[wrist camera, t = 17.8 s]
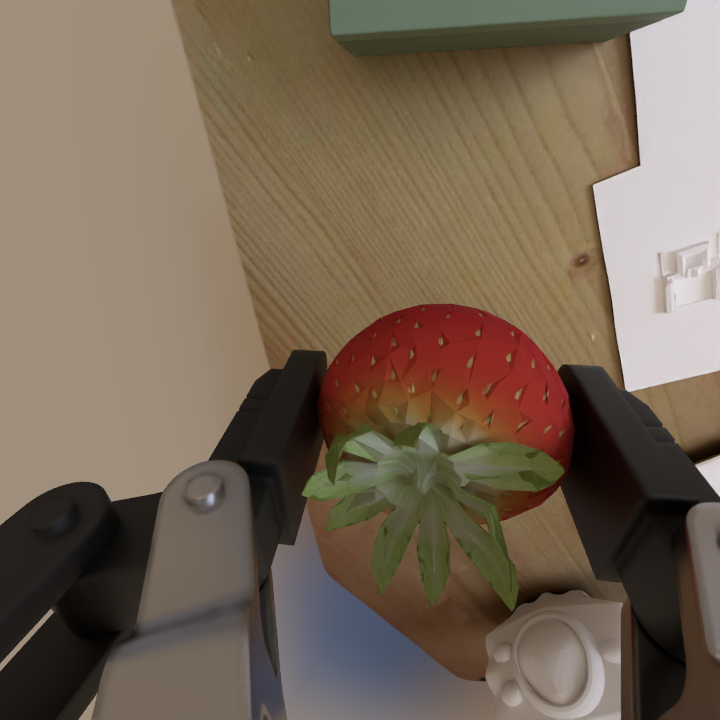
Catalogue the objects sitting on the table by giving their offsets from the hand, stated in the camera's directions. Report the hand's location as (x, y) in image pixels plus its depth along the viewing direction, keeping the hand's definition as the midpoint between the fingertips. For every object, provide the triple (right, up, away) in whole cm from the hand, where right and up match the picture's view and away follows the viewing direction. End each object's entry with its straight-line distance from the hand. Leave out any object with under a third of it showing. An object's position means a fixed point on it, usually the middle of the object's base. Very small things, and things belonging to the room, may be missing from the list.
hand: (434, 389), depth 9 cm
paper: (+21, +10, +13) cm, 27 cm away
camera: (+22, -28, +38) cm, 52 cm away
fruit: (0, +2, +3) cm, 4 cm away
